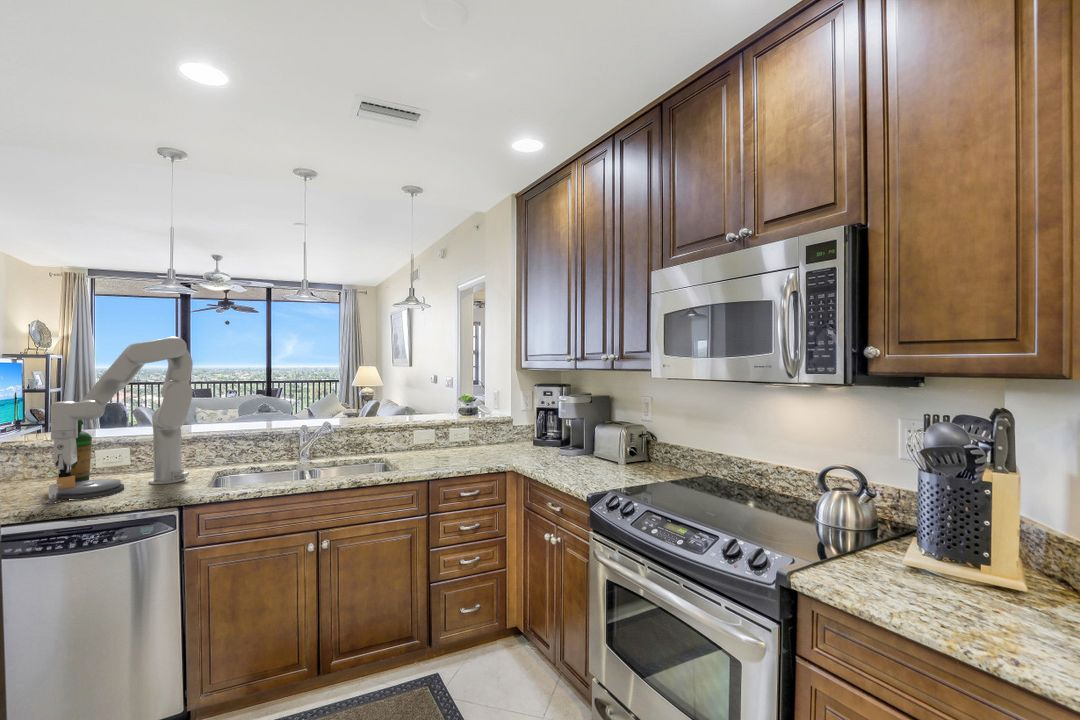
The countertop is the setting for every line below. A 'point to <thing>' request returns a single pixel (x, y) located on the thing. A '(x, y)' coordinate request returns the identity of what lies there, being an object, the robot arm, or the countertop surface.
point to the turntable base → (92, 494)
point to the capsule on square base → (53, 494)
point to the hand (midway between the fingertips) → (64, 483)
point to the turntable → (85, 485)
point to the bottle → (82, 455)
